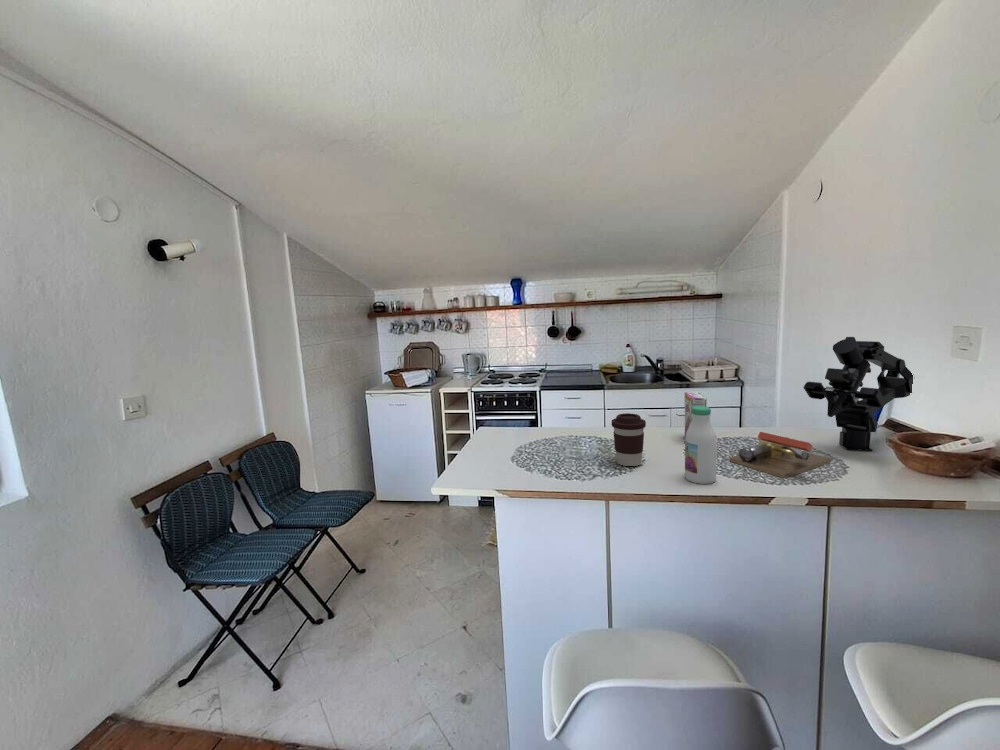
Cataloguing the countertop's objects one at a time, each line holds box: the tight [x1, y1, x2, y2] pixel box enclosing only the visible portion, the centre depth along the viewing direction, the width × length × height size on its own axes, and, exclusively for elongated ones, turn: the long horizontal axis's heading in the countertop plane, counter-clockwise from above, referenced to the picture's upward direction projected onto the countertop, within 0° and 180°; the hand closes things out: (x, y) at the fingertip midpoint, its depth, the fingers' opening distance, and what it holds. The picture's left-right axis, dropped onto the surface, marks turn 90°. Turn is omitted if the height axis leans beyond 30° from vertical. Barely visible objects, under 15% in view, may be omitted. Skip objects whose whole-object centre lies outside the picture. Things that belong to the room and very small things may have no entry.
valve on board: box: [728, 436, 832, 479], centre depth 124 cm, size 22×16×5 cm
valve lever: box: [757, 431, 813, 460], centre depth 118 cm, size 2×13×13 cm
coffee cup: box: [611, 412, 647, 467], centre depth 129 cm, size 10×10×15 cm
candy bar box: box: [684, 391, 708, 438], centre depth 147 cm, size 11×5×16 cm, turn 168°
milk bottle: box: [684, 406, 718, 485], centre depth 114 cm, size 8×8×20 cm
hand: (829, 416), depth 124 cm, fingers closed
